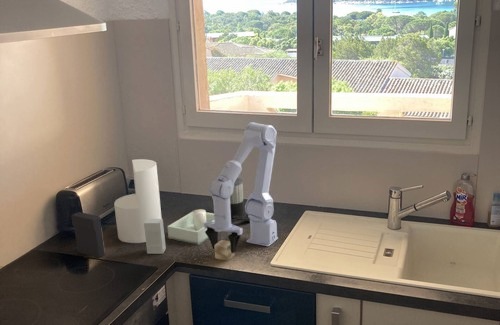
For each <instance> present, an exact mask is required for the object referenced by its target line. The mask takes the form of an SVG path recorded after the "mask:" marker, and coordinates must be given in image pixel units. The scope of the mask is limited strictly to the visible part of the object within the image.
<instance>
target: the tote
mask: <svg viewBox="0 0 500 325" xmlns="http://www.w3.org/2000/svg"><path fill="white" fill-rule="evenodd" d="M195 210H196V209H194V210H193V211H195ZM193 211H191V212H189V213H188V214H186V215H184V216H183V217H181V218H179V219H177V220H176V221H174V222H172V223H171V224H169V225H167V234H168V235H167V236H168V239H170V240H174V241H180V242H184V243H188V244H193V245H199V246H200V244H203V243H204V242H205V241H207V240H209V238H208V236H207V235H206V233H205V231H206V230H207V229H206V228H204V227H202V228H201V229H199V230H198V231H197V230H195V229H194V218H193ZM206 220H207V221H208V222H215V221H214V212H207V211H206Z"/></svg>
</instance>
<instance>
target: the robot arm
mask: <svg viewBox="0 0 500 325" xmlns="http://www.w3.org/2000/svg"><path fill="white" fill-rule="evenodd" d="M277 135H278V132H277V130H276V129H275V127H274V126H273V125H271V124H263V123H258V122H254V121H253V122H252V121H251V122H249V123H248V124H247V125H246V127H245V129H244V131H243V139H242V140H241V143H240V144H239V147H238V148H237V151H236V153H235V154H234V156H233V158H232V159H230V160H227V162H226V163H225V164H224V167H223V169H221V171H220V173H219V175H218V176H217V178H216V179H214V180H213V181H211V182H210V185H209V188H208V192H209V194H210V195H211V200H213V201H212V202H213V214H214V221H215V222H208V221H207V222H205V223H204V228H206V229H207V230H206V231H205V233H206V235H207V236H208V240H209V242H210V245H211V247H212V249H213V250H215V248H214V245H215V244H217V243H218V242H219V238H218V235H219V233H220V232H226V233H230V234H229V235H227V237H228V241H230V245H231V253H234V252H235V253H236V252H237V248H238V243H239V240H240V238H241V236H242V235H243V231H244V229H243V227H239V226H237V225H236V224H235V225H234V224H233V223H232V218H231V210H230V196H231V195H232V193H233V187H234V182H235V181H236V179H237V178H239V176H240V174H241V173H242V170H243V167H242V164H243V163H244V162H245V161H246V159H247V158H248V156H249V154H250V153H251V152H252V150H253V148H258V149H259V153H258V154H259V155H258V160H257V166H256V174H255V180H254V186H253V187H254V188H253V191H252V192H251V193H250V194H249V195H248V196H247V200H246V202H245V204H244V212H245V214H247V215H248V216H249V218H250V220H249V227H250V228H249V230H250V237H249V238H248V239H247V240H246V243H249V244H254V245H258V246H264V247H270V246H271V245H272V244H273V243H275V242H276V241H277V240H278V239H279V237H278V227H277V226H278V223H277V221H276V220H274V219H272V217H273V215H274V212H275V210H274V200H273V198H272V196H271V194H270V193H269V191H270V186H271V180H272V173H273V166H274V160H275V159H274V158H275V153H276V141H277Z"/></svg>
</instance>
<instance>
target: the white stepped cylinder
mask: <svg viewBox="0 0 500 325" xmlns="http://www.w3.org/2000/svg"><path fill="white" fill-rule="evenodd" d="M131 162H132V173H133V182H134V190H135V193H132V194H127V195H124V196H121V197H119V198H117V199H115V201H114V203H113V204H114V205H113V207H114V213H115V220H116V230H117V237H118V240H120V241H121V242H124V243H127V244H128V243H129V244H141V243H142V244H143V243H146V238H145V229H144V222H145V221H146V220H147V219H163V218H162V210H161V208H162V207H161V199H160V198H161V197H160V189H159V188H160V186H159V176H158V166H157V162H156V161H155V160H152V159H146V158H140V159H137V158H136V159H132V160H131Z"/></svg>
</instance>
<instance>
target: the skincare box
mask: <svg viewBox="0 0 500 325" xmlns="http://www.w3.org/2000/svg"><path fill="white" fill-rule="evenodd" d="M144 229H145V238H146V242H145V246H146V254H150V255H151V254H152V255H153V254H154V255H155V254H158V255H159V254H160V255H161V254H162V255H163V254H164V252H165V251H166V249H167V248H166V238H165V230H164V219H163V218H162V219H147V220H146V221H145V222H144Z"/></svg>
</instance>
